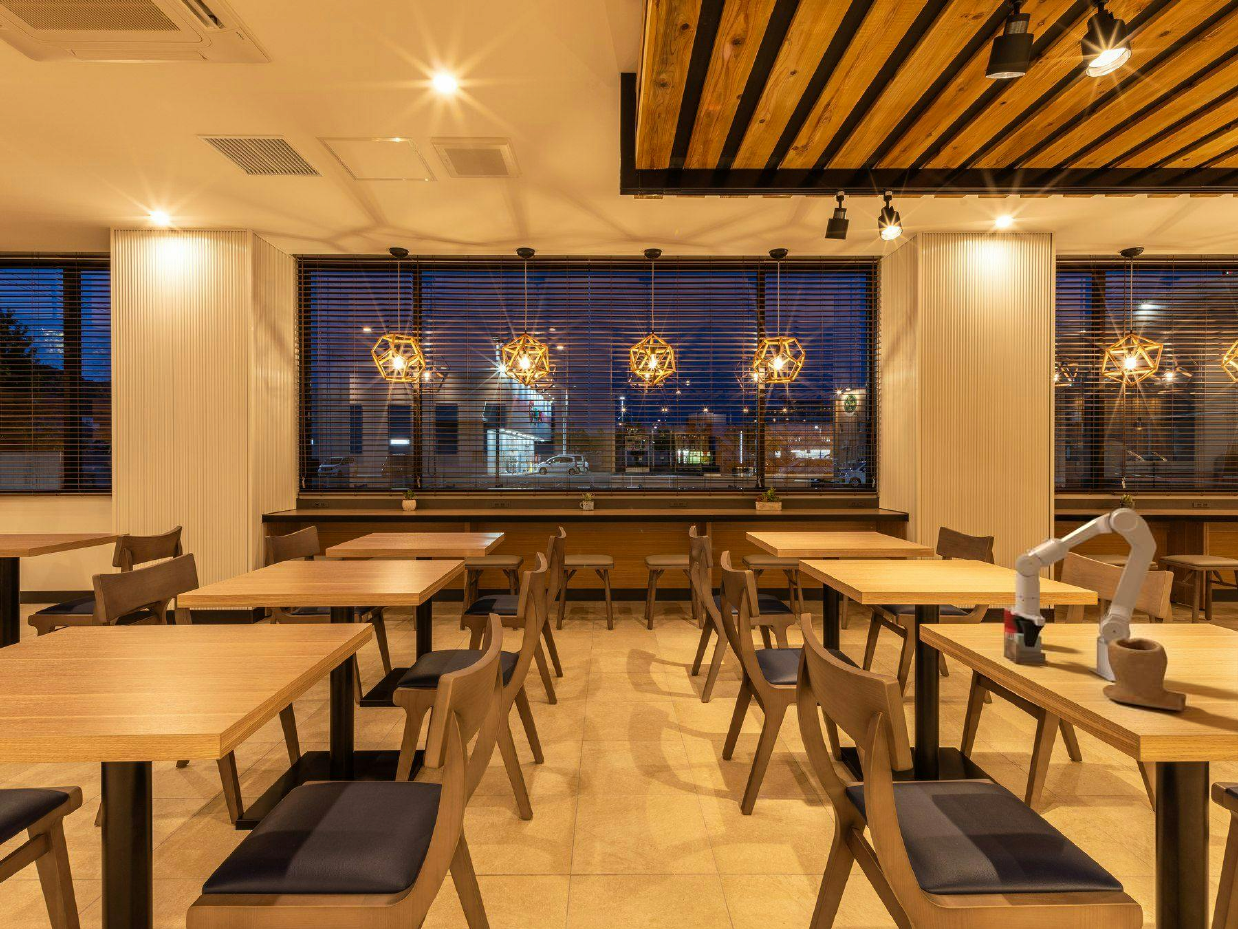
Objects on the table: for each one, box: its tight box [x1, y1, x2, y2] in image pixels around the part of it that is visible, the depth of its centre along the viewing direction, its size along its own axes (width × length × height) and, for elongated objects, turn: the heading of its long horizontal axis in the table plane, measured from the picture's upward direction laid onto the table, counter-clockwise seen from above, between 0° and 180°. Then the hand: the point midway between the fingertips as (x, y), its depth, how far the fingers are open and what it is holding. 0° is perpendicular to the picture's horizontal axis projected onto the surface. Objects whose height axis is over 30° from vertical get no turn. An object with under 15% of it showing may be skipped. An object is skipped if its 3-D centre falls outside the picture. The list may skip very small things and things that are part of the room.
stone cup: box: [1102, 637, 1187, 712], centre depth 140 cm, size 15×12×15 cm
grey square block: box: [1014, 633, 1042, 653], centre depth 172 cm, size 2×6×6 cm, turn 81°
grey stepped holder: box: [1003, 636, 1048, 666], centre depth 172 cm, size 7×8×6 cm
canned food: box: [1003, 605, 1017, 641], centre depth 189 cm, size 8×8×11 cm
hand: (1027, 645), depth 172 cm, fingers closed on grey square block, 2 cm apart
